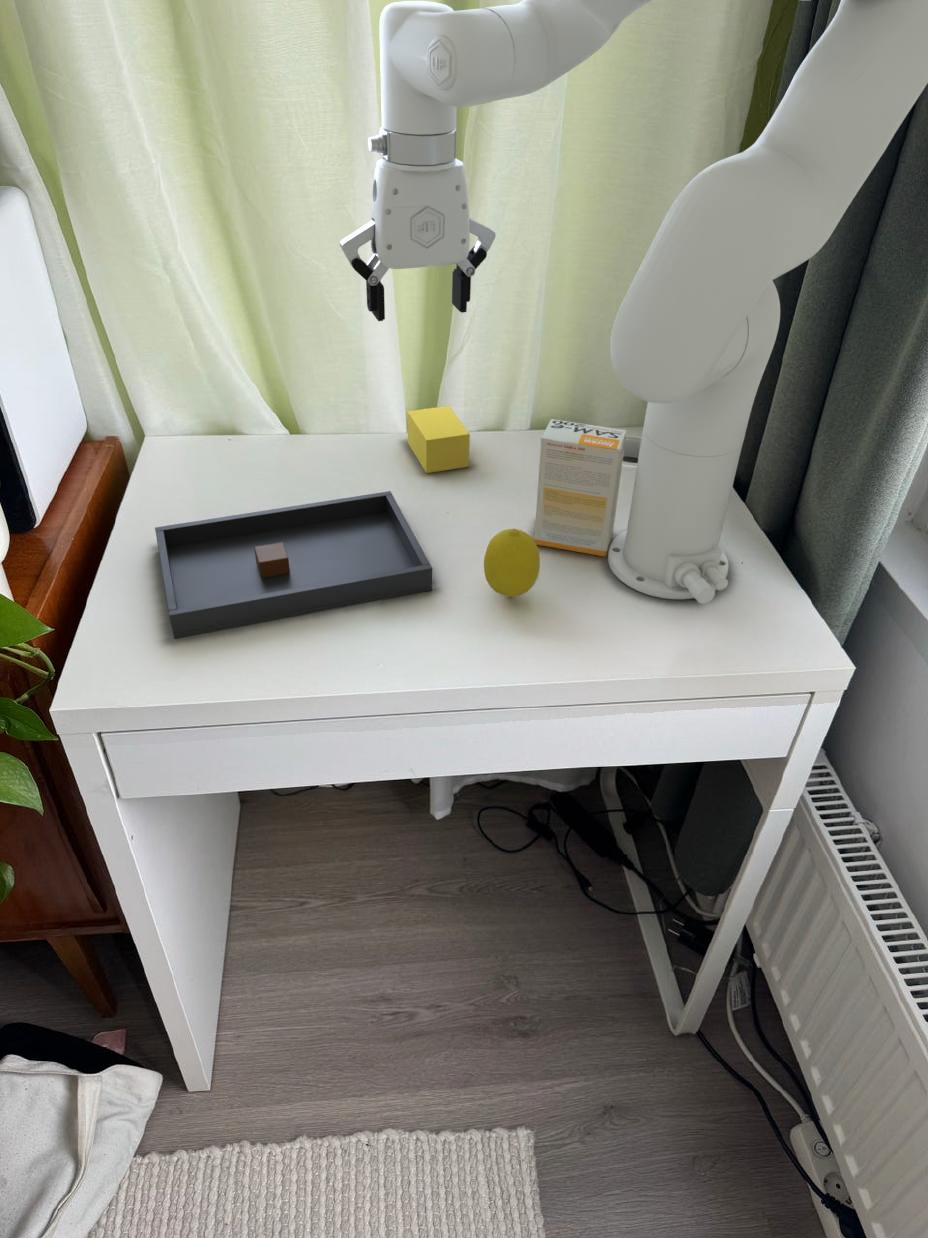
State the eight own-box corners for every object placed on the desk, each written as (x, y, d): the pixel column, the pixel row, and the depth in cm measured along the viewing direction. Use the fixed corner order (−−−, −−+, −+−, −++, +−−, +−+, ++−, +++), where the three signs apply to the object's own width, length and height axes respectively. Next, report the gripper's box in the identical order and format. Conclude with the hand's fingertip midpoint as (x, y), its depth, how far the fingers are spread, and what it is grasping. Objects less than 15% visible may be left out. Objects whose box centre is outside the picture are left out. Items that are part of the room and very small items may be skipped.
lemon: (521, 619, 91) (527, 552, 86) (472, 601, 93) (475, 535, 88) (545, 590, 95) (552, 524, 90) (498, 573, 97) (501, 508, 92)
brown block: (290, 573, 95) (288, 557, 94) (261, 578, 94) (258, 562, 93) (284, 557, 97) (283, 541, 96) (256, 562, 97) (253, 546, 95)
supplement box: (613, 535, 103) (629, 428, 95) (606, 559, 100) (622, 450, 91) (541, 522, 105) (551, 416, 97) (531, 544, 101) (540, 436, 93)
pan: (432, 590, 94) (432, 568, 93) (174, 638, 88) (168, 615, 86) (391, 511, 106) (390, 490, 104) (159, 549, 99) (154, 527, 97)
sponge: (468, 466, 114) (469, 433, 112) (426, 473, 113) (426, 440, 110) (448, 437, 120) (449, 405, 117) (407, 443, 119) (407, 410, 116)
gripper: (345, 160, 89) (353, 332, 100) (511, 151, 94) (501, 317, 105) (327, 142, 95) (336, 308, 106) (485, 135, 100) (478, 294, 110)
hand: (419, 312), depth 105 cm, fingers open, 9 cm apart
